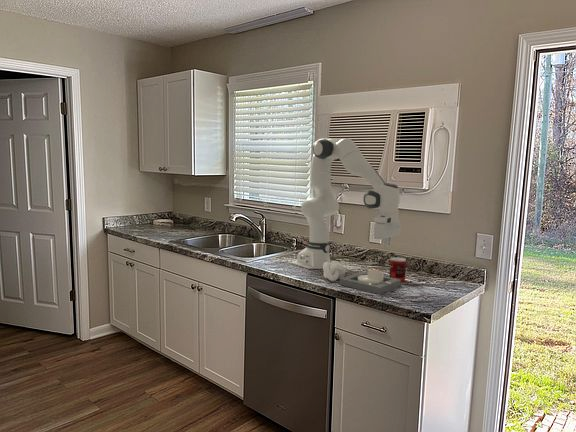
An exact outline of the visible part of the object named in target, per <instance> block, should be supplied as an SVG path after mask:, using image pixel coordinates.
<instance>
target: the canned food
mask: <svg viewBox="0 0 576 432" xmlns="http://www.w3.org/2000/svg"><path fill="white" fill-rule="evenodd" d="M389 258H390V259H389V272H388V273H389V274H388V277H391V278H396V279H400V280H401V283H403V282H405V281H406V271H407V269H406V267H407V259H406V258H404V257H397V256H396V257H389Z"/></svg>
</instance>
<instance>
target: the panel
mask: <svg viewBox="0 0 576 432" xmlns="http://www.w3.org/2000/svg"><path fill="white" fill-rule="evenodd" d="M361 275H368V271H359V272H356V273H352V274H350V275H346V276H344V277H343V278H340V279H339V283H338V284H339V285H340V286H343V287H349V288H351V289H356V288H357V290H360V289H361V291H364V290H365V291H364V292H369V293H373V294H376V295H382V294H384V293H386V292H388V291H391V290H393V289H395V288H398V287H400V286H401V283H402V282H401V280H400V279H396V278H391V277H389V276H386V275H384V276H383V283H380V284H378V285H373V284H371V283H364V282H360V281H358V276H361ZM381 293H382V294H381Z"/></svg>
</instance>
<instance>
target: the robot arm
mask: <svg viewBox="0 0 576 432" xmlns="http://www.w3.org/2000/svg"><path fill="white" fill-rule="evenodd" d="M312 152H313V155H312V157H311V165H310V187H311V189H312V190H314V192H315V195H316V197H309V198H308V199H305V200H303V201H302V203H301V206H300V210H301V211H300V212H301V213H302V215H303V216H304V217H305V218H306V220H307V223H308V227H309V240H308V241H305V245H306V247H305V248H303V249H302V250H301V251H299V252H298V254H297V256H296V260H294V261H292V265H295V266H299V267H302V268H304V269H309V270H315V269H317V270H319V269H320V270H323V264H324V263H325V262H329V263H330V262H331V260H330V249H331V242H330V227H329V226H328V225H327V224H326V220H325V218H326V217H330V216H333V215H335V214H337V213H338V212H339V209H340V203H339V201H338V200H337V199H336V197H335V195H334V193H333V189H332V177H331V175H332V169H331V167H332V163H333V161H334V162H338V161H340V162H341V164H342V166H343V168H344V170H346V171H347V173H349V174H351V175H354V176H357V177H360V178H363V179H365V180H366V181H368V183H369V184H370V185H371V187H372V188H373V189H369V190H367V191H365V193H364V195H363V204H364V206H365V207H366V208H367V209H368V210H369V209H370V210H379V214H377V215H376V216H375V217H374V219H373V222H374V227H373V228H374V229H373V236H374V239H375V240H383V243H384V244H383V245H384V247H386V248H389V247H390V246H391V244H392V240H393V237H397V236H400V235H401V233H402V223H401V220H400V217H399V214H400V212H399V204H400V189H399V187H398V185H397V184H395V183H390V182H389V183H388V182H387V183H386V182H385V181H384V179H383V178H382V177H381V176H380V174H379V173H378V171H377V170H376V169H375V168H374V166H372V165H371V163H369V162H368V160H367V159H366V158H365V157H364V155H363V153H362V151H360V149H359V147H358V146H357V144H356V143H355V142H354V141H353V140H352V139H351V138H349V137H347V138H346V137H345V138H342V139H341V138H340V139H339V138H320V139H317V140H316V141H314V143H313V147H312Z"/></svg>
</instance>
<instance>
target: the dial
mask: <svg viewBox="0 0 576 432" xmlns="http://www.w3.org/2000/svg"><path fill="white" fill-rule="evenodd" d="M367 273H368V275H361V276H358V281H360V282H364V283H371V284H373V285H378V284H380V283H383V276H385V274H384V271H380V270H376V269H371V268H369V269H367Z"/></svg>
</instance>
